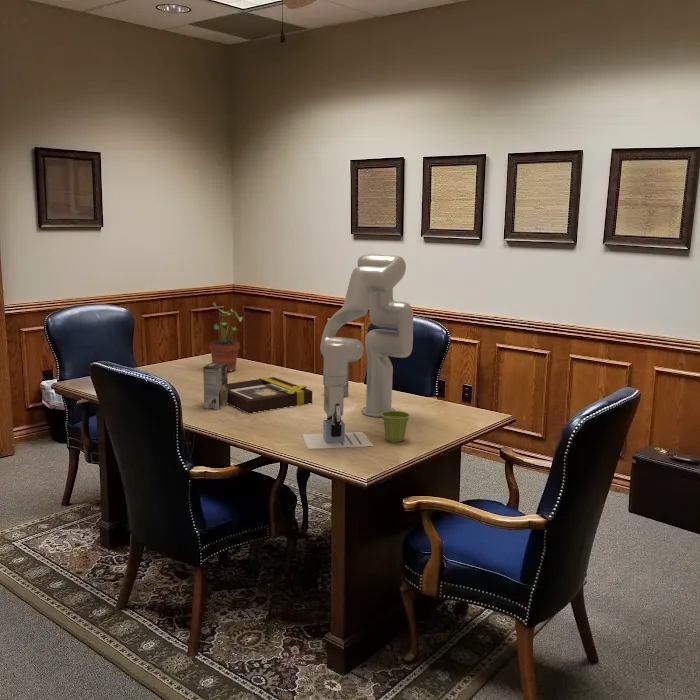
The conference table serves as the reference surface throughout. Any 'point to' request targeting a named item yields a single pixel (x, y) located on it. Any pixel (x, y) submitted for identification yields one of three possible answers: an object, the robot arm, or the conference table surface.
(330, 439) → the cube
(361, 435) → the letter
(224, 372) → the coffee box
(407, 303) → the robot arm
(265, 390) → the brown gift box
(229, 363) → the potted plant
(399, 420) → the plant pot
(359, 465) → the conference table surface
